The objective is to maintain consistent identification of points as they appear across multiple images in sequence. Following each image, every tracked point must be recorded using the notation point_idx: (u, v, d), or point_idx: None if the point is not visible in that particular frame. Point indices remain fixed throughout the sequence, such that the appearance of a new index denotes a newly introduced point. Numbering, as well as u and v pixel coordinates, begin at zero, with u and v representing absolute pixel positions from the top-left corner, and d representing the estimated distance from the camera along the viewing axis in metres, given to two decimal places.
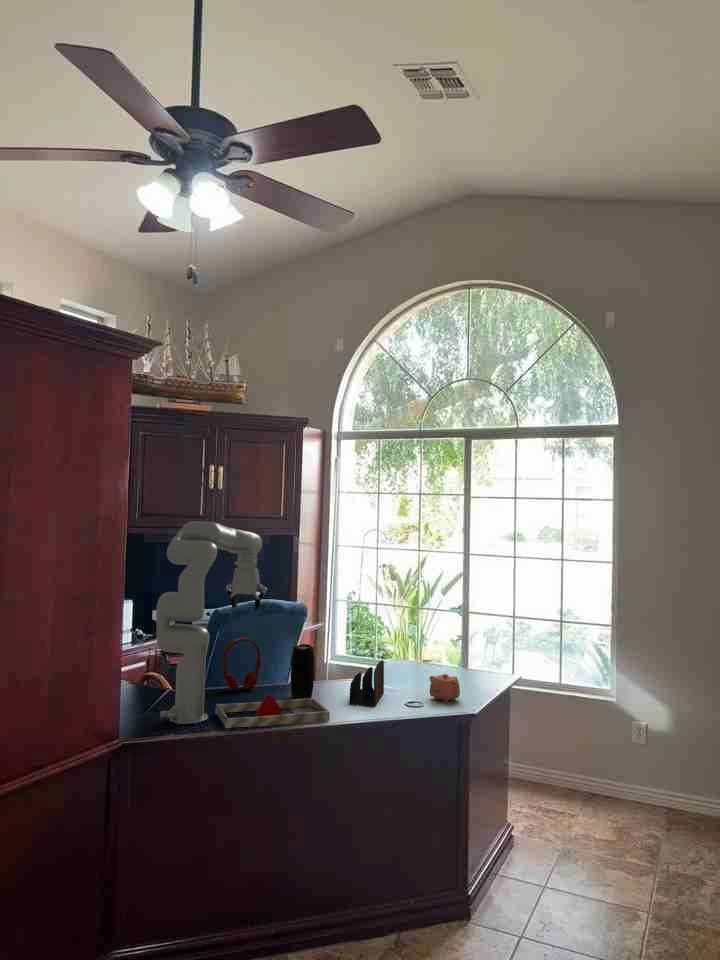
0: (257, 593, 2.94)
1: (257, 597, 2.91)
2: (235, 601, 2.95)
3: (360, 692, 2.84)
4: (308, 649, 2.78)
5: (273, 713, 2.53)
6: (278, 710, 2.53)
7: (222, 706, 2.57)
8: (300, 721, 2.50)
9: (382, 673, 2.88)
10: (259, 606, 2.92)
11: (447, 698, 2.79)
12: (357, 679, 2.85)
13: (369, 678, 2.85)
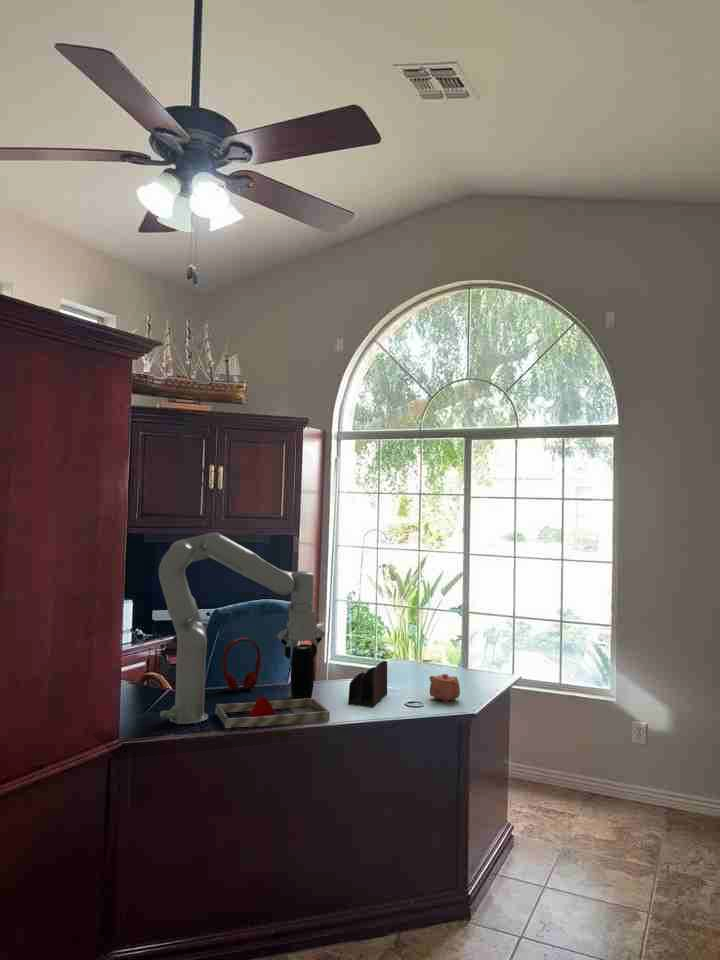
0: None
1: (315, 643, 2.60)
2: None
3: None
4: (308, 649, 2.78)
5: (266, 714, 2.51)
6: (271, 711, 2.51)
7: (222, 706, 2.57)
8: (300, 721, 2.50)
9: (385, 674, 2.88)
10: (315, 653, 2.61)
11: (447, 698, 2.79)
12: (359, 679, 2.85)
13: (371, 678, 2.85)
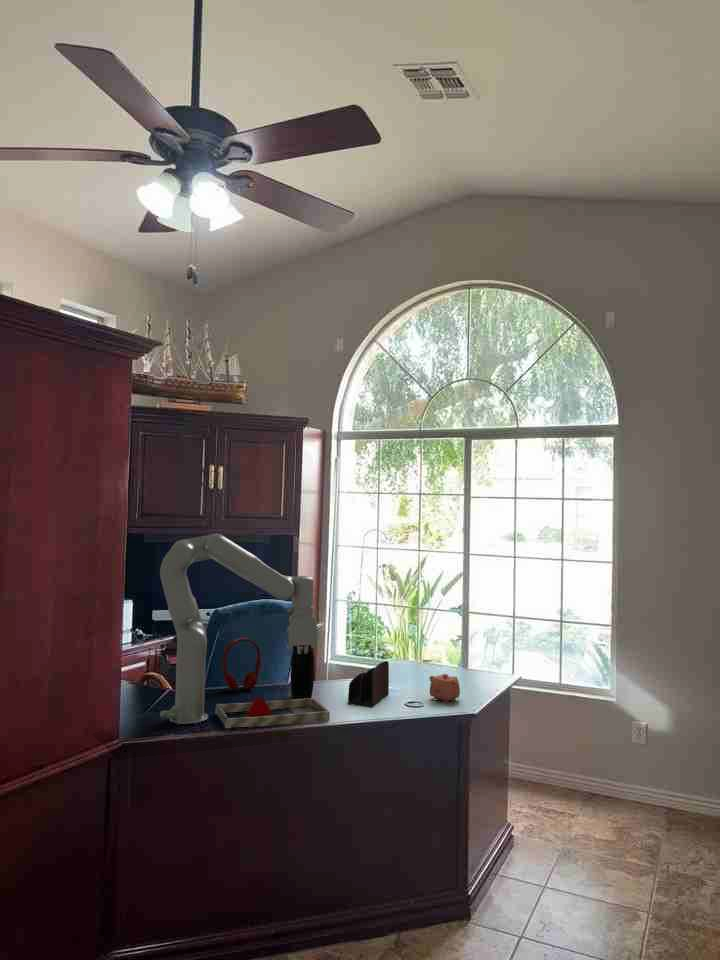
0: (305, 645, 2.60)
1: (305, 651, 2.58)
2: None
3: None
4: None
5: (263, 714, 2.50)
6: (268, 712, 2.51)
7: (222, 706, 2.57)
8: (300, 721, 2.50)
9: (386, 674, 2.87)
10: (305, 661, 2.59)
11: (447, 698, 2.79)
12: (360, 679, 2.85)
13: (372, 678, 2.85)
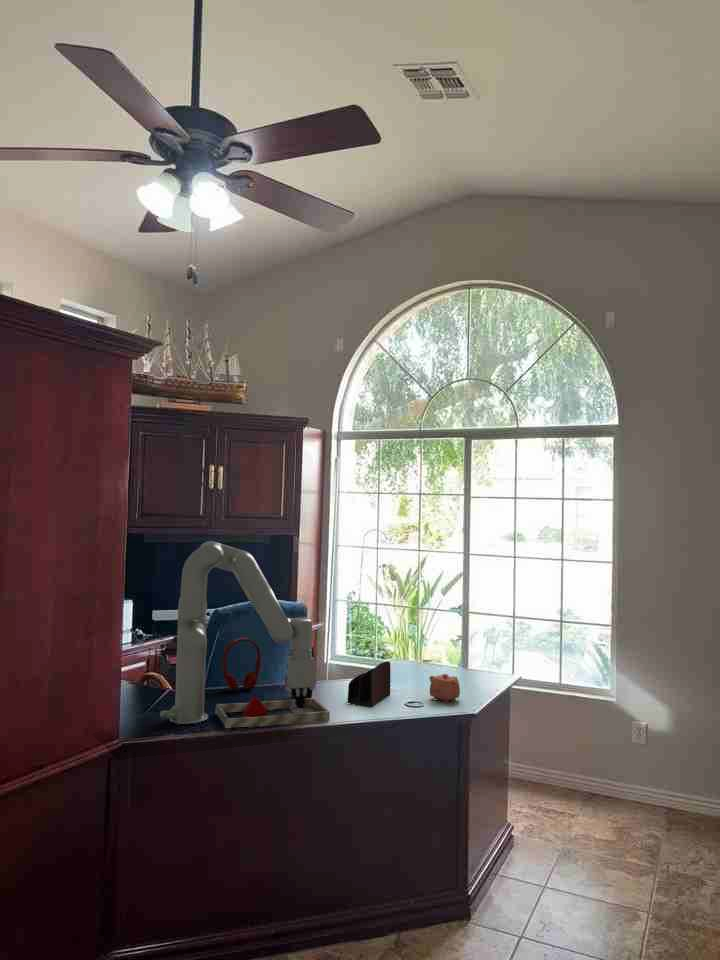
0: (303, 687, 2.60)
1: (304, 693, 2.58)
2: None
3: None
4: None
5: (259, 715, 2.49)
6: (264, 712, 2.50)
7: (222, 706, 2.57)
8: (300, 721, 2.50)
9: (387, 674, 2.87)
10: None
11: (447, 698, 2.79)
12: None
13: None
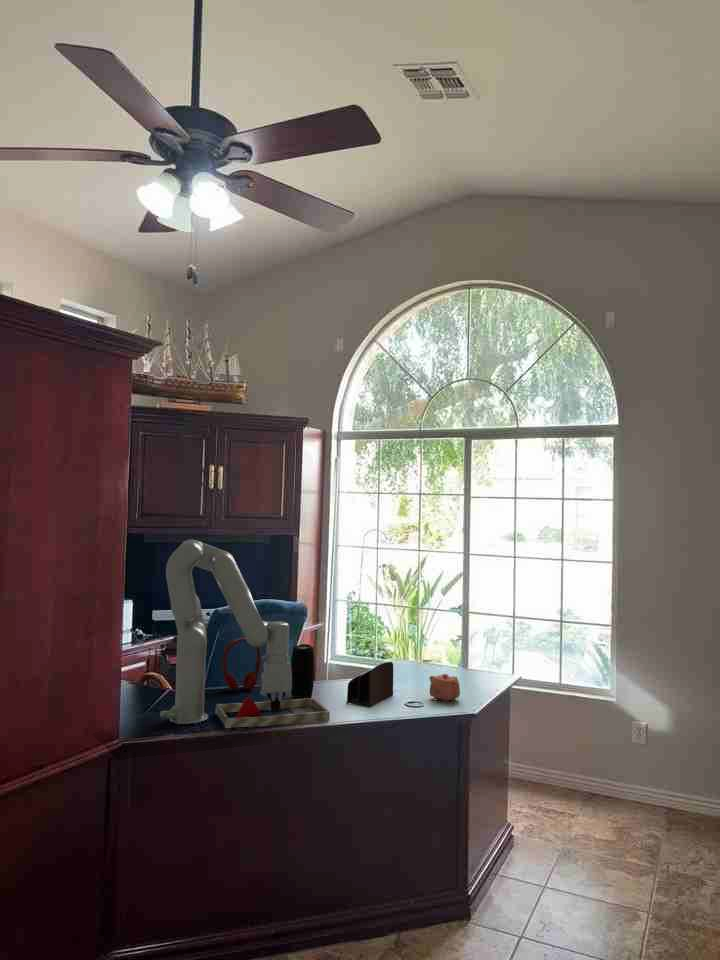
0: None
1: (279, 698, 2.55)
2: None
3: None
4: (308, 649, 2.78)
5: (252, 716, 2.48)
6: (258, 714, 2.48)
7: (222, 706, 2.57)
8: (300, 721, 2.50)
9: (389, 675, 2.86)
10: (279, 708, 2.56)
11: (447, 698, 2.79)
12: None
13: None
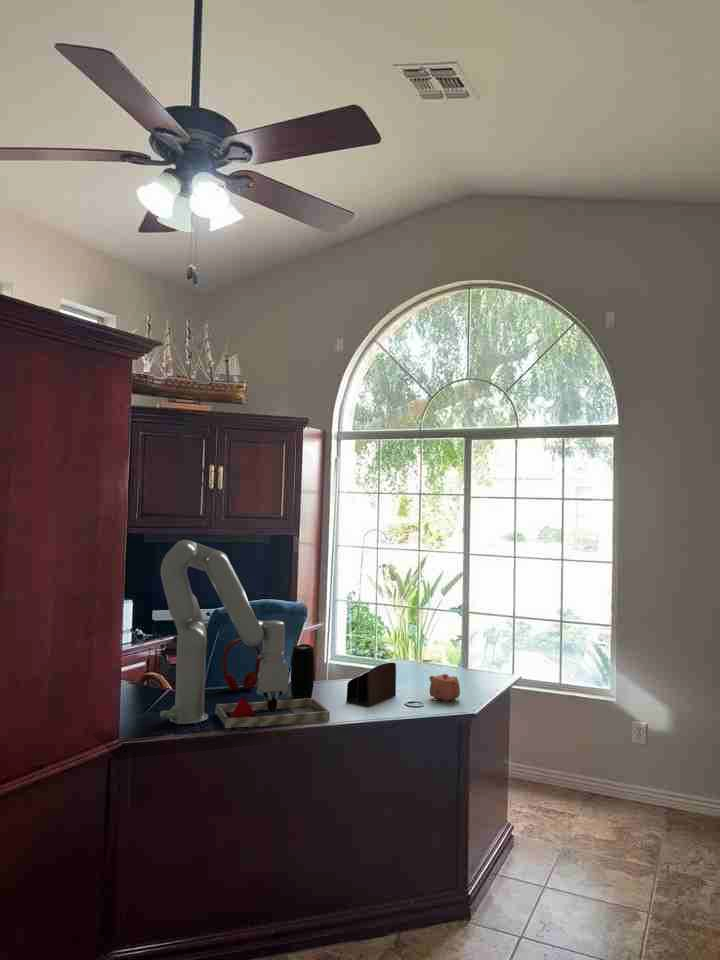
0: None
1: (276, 697, 2.54)
2: None
3: None
4: (308, 649, 2.78)
5: None
6: (252, 715, 2.47)
7: (222, 706, 2.57)
8: (300, 721, 2.50)
9: (391, 675, 2.85)
10: None
11: (447, 698, 2.79)
12: None
13: None
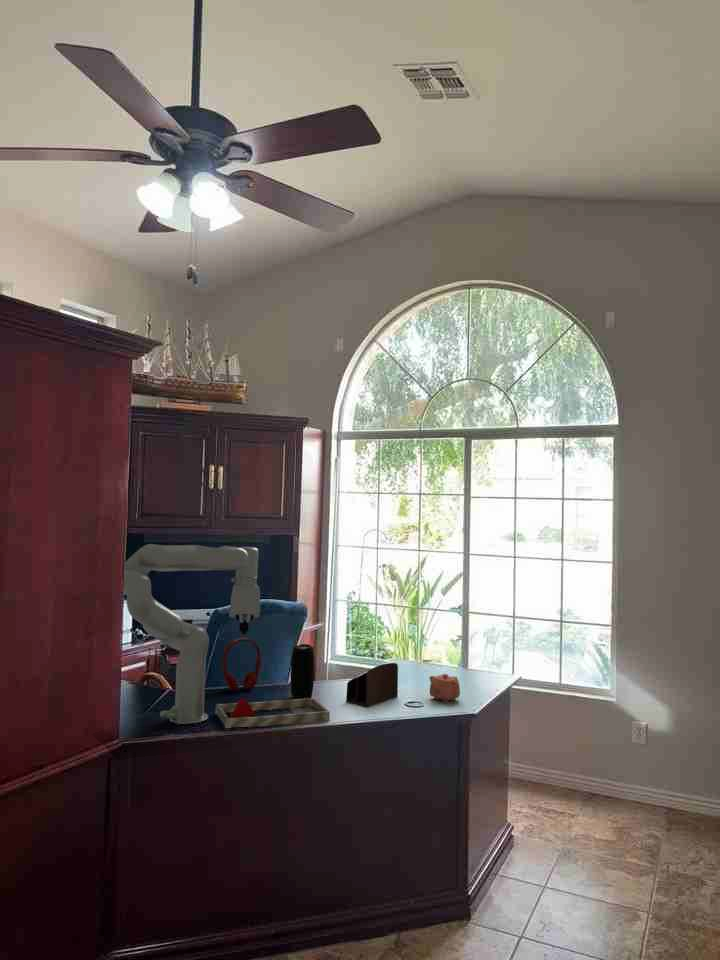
0: None
1: (247, 620, 2.63)
2: None
3: None
4: (308, 649, 2.78)
5: None
6: (252, 715, 2.47)
7: (222, 706, 2.57)
8: (300, 721, 2.50)
9: (393, 676, 2.84)
10: (247, 630, 2.64)
11: (447, 698, 2.79)
12: None
13: None
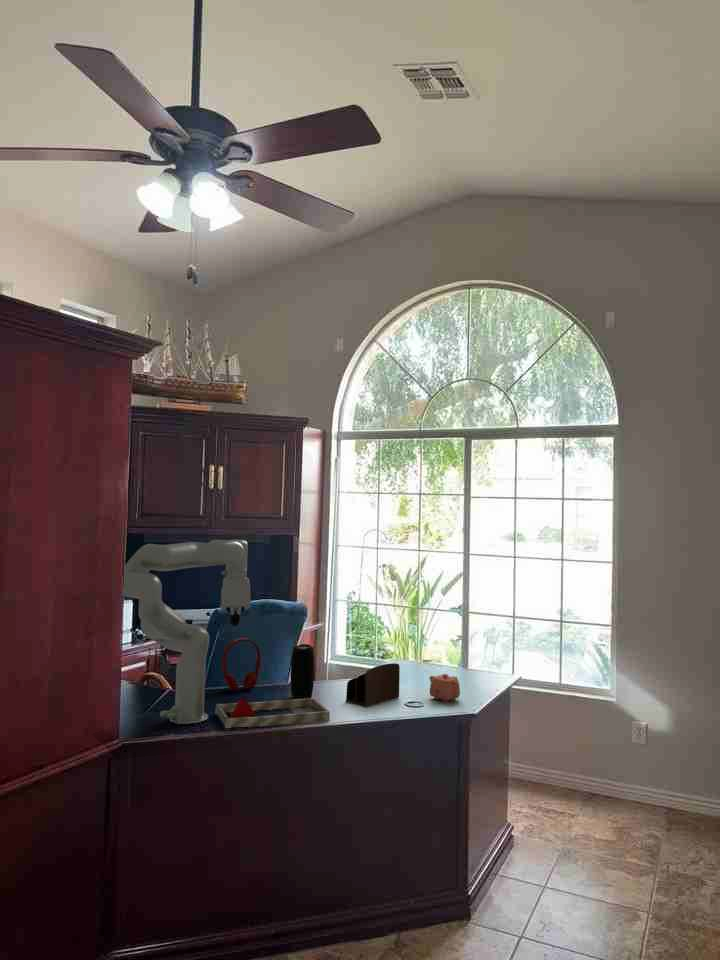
0: None
1: (238, 612, 2.66)
2: None
3: None
4: (308, 649, 2.78)
5: None
6: (252, 715, 2.47)
7: (222, 706, 2.57)
8: (300, 721, 2.50)
9: (394, 676, 2.83)
10: (238, 622, 2.67)
11: (447, 698, 2.79)
12: None
13: None
